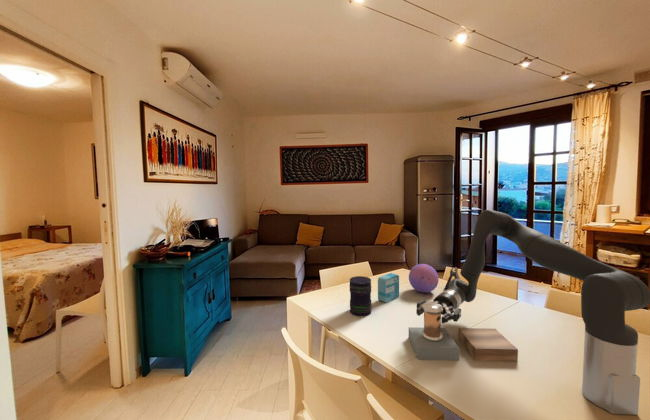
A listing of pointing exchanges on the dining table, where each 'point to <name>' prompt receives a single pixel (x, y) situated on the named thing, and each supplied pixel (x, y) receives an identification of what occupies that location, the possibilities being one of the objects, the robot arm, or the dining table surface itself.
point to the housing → (432, 322)
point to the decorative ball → (423, 278)
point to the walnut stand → (487, 344)
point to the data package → (388, 287)
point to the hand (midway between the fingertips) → (429, 316)
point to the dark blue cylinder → (360, 296)
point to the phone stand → (451, 277)
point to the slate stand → (433, 346)
